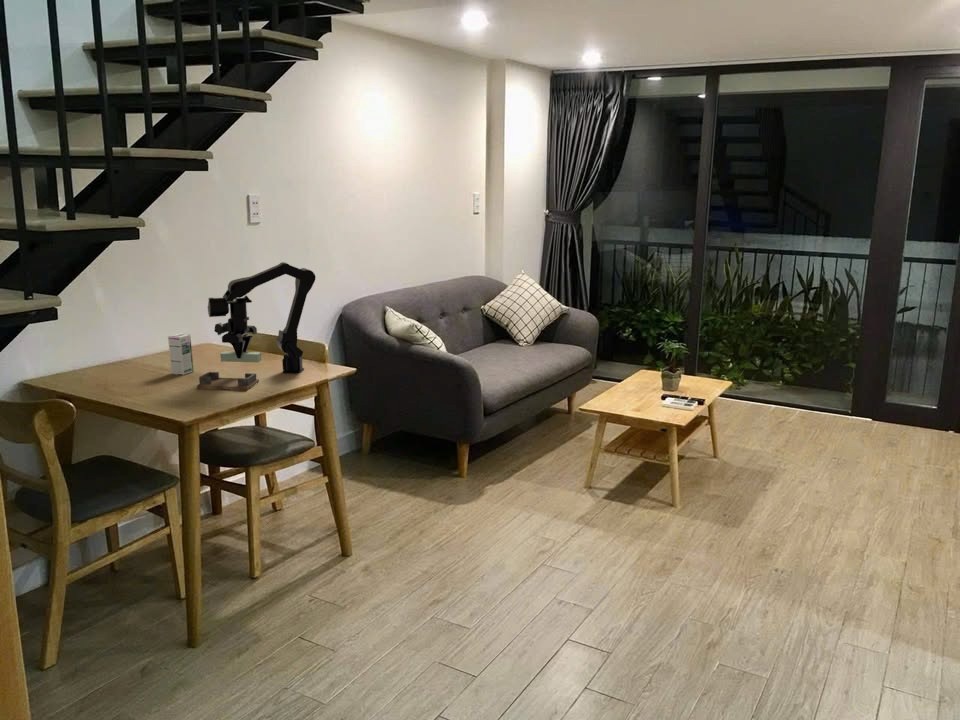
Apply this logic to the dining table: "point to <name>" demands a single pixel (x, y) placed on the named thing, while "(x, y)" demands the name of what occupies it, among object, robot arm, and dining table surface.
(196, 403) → the dining table surface
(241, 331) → the robot arm
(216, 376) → the frame
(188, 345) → the syrup box
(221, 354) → the slat
